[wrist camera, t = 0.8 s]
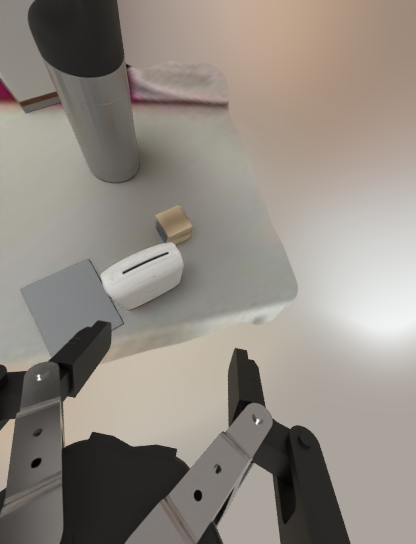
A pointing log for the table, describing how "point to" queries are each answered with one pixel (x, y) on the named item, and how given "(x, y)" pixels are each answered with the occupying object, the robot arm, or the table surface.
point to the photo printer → (143, 275)
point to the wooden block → (173, 225)
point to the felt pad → (69, 304)
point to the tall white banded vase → (23, 59)
